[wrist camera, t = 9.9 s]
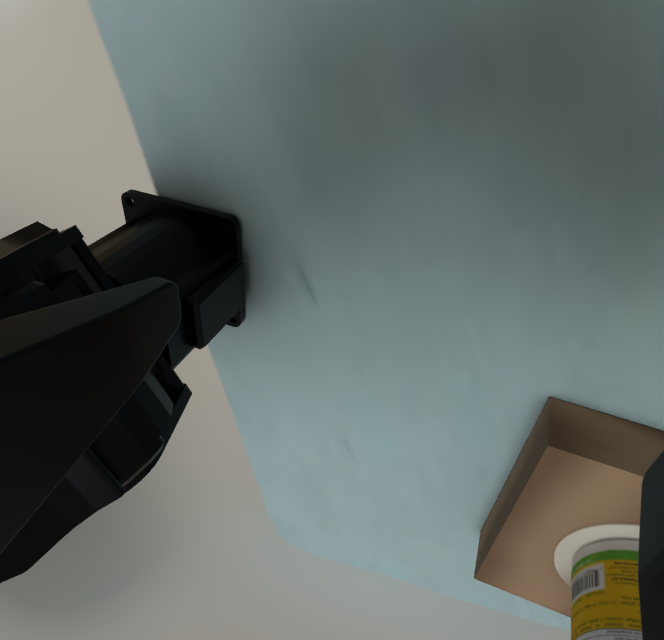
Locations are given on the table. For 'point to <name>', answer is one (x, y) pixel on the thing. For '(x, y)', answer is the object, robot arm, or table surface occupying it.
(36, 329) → the robot arm
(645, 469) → the walnut base
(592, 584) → the supplement bottle
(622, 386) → the table surface
